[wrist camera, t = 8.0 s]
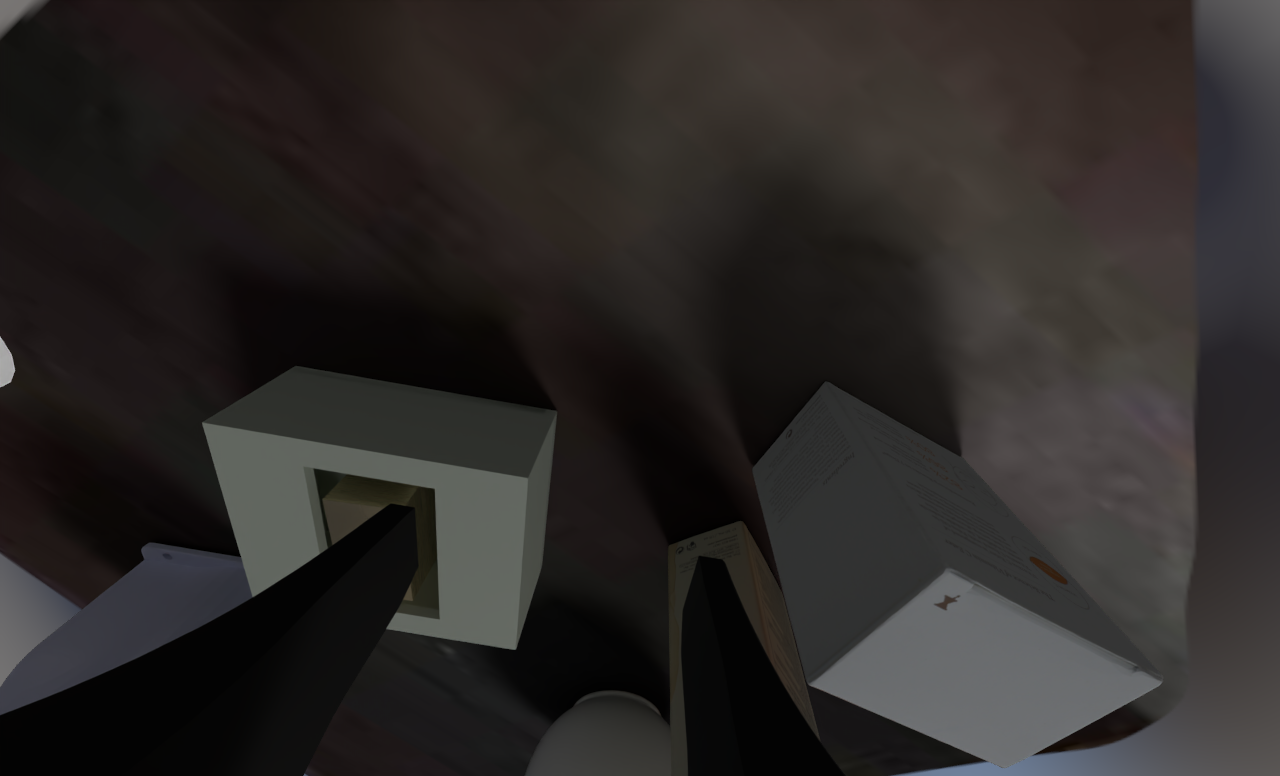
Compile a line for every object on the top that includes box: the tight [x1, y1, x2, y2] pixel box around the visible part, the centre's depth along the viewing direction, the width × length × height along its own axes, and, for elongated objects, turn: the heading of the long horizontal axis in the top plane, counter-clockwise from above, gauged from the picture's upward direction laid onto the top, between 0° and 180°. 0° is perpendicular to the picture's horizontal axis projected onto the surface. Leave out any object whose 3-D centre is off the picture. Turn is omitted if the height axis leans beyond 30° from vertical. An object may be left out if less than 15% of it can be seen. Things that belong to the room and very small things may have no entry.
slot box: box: [202, 366, 557, 650], centre depth 23 cm, size 12×10×5 cm
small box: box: [752, 381, 1163, 768], centre depth 18 cm, size 8×6×10 cm
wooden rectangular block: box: [322, 474, 437, 601], centre depth 22 cm, size 3×5×5 cm, turn 173°
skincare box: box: [668, 521, 820, 776], centre depth 21 cm, size 6×4×12 cm
